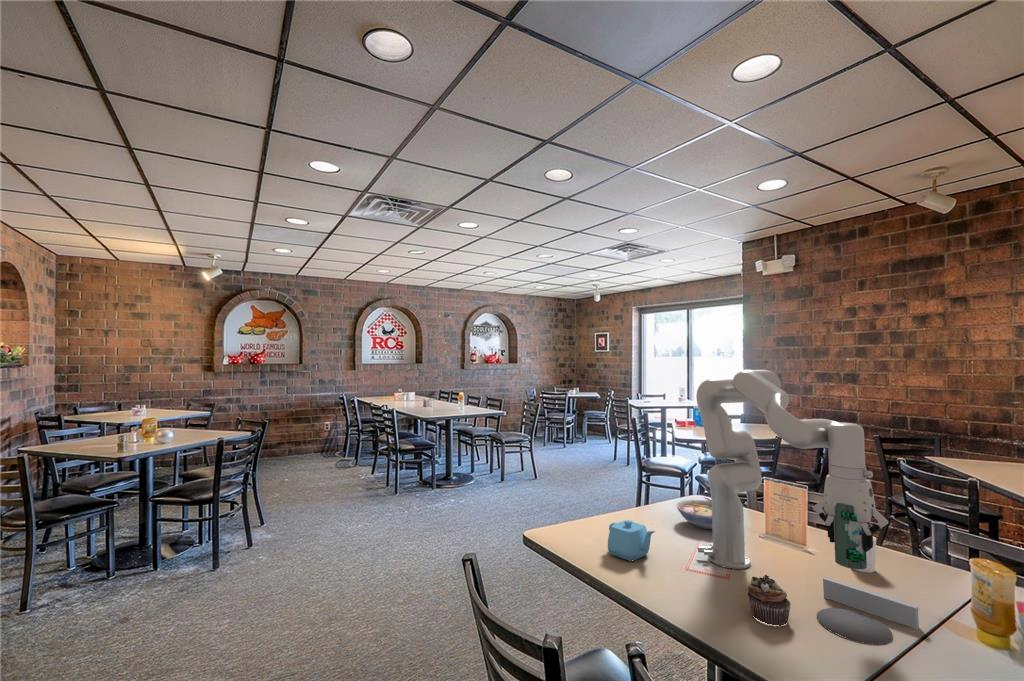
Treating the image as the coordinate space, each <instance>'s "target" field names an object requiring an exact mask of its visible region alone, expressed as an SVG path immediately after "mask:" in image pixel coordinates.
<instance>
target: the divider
mask: <svg viewBox="0 0 1024 681" xmlns="http://www.w3.org/2000/svg"><path fill="white" fill-rule="evenodd" d="M822 583H823V586H822V587H823V598H825V599H828V600H830V599H831V601H833V600H834V602H836V603H840V604H842V605H845V606H848V607H851V608H854V609H856V608H857V609H856V610H859V609H860V610H859V611H862V610H863V611H862V612H865V611H866V613H868V612H869V613H868V614H871V613H872V615H874V614H875V615H874V616H877V615H878V616H877V617H879V616H881V617H880V618H882V617H883V619H885V618H887V619H886V620H888V619H890V620H889V621H891V620H892V621H891V622H894V621H895V623H897V622H898V623H897V624H900V623H901V624H900V625H903V626H905V625H906V627H908V626H909V628H911V627H912V629H915V630H918V629H919V627H920V624H919V623H920V621H919V606H917V605H914V604H912V603H909V602H905V601H902V600H899V599H896V598H893V597H889V596H887V595H884V594H883V595H882V594H880V593H876V592H874V591H871V590H868V589H864V588H860V587H857V586H855V585H852V584H848V583H846V582H841V581H839V580H835V579H833V578H829V577H824V578H822Z"/></svg>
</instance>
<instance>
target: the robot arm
mask: <svg viewBox="0 0 1024 681" xmlns="http://www.w3.org/2000/svg"><path fill="white" fill-rule="evenodd" d="M781 386H782V384H781V379H780V378H779V376H778V374H776V373H775V372H773V371H772V370H768V369H744V370H741V371H739V372H737V373H736V374H735V375H734V376H733V377H714V378H708V379H705V380H704V381H703V382H701V383H700V384H699V386H698V388H697V390H696V403H697V408H698V410H699V413H700V416H701V419H702V426H703V431H704V435H705V441H706V448H707V451H708V453H709V456H711V457H712V458H713V459H716V460H728V459H729V460H730V459H733V460H734V462H726V463H725V462H724V463H718V464H715V465H713V466H711V468H710V469H709V470H708V471H707V482H708V486H709V491H710V497H711V499H710V501H711V500H712V529H711V530H712V531H711V532H712V542H710V543H709V544H710V545H707V546H701V545H698V546H697V552H698V553H703V554H704V556H707V558H709V559H708V561H710V562H711V561H712V562H713V563H712V562H711V563H712V564H714V563H715V564H714V565H716V564H717V565H716V566H719V565H720V566H719V567H722V566H724V567H723V568H726V567H727V568H726V569H731V568H732V569H733V570H735V569H736V570H737V569H738V570H744V569H747V568H749V567H750V566H751V560H750V558H749V557H748V556H746V554H745V552H746V551H745V524H744V523H745V522H744V521H745V519H744V514H745V513H744V505H743V504H742V501H741V499H740V497H739V495H738V493H745V492H752V491H756V490H758V489H759V488H760V486H761V485H762V481H763V480H762V471H761V465H760V462H759V455H758V451H757V446H756V442H755V440H754V439H753V437H752V435H751V434H750V433H748V431H746V430H744V429H738V428H737V429H732V425H731V421H730V420H731V419H730V417H729V415H728V413H727V411H726V410H725V408H724V407H723V406H722V405H721V404H738V403H739V404H740V403H747V402H749V403H750V404H751V405H753V406H754V407H756V409H758V410H760V411H761V412H762V413H763V414H764V416H765V420H766V423H767V425H768V427H769V428H770V430H771V432H773V433H774V434H775V435H777V437H779V438H780V439H781V440H783V441H784V442H785V443H787V444H789V445H790V446H792V447H794V448H797V449H801V450H803V449H804V450H805V449H806V450H807V449H817V448H818V449H819V448H820V449H821V448H828V450H827V451H828V452H827V453H828V474H827V475H826V476H825V481H824V487H823V488H824V489H823V499H822V500H821V501H819V502H817V503H816V504H814V505H813V506H812V509H813V510H814V512H816V514H818V516H819V518H820V519H821V520H822V521H823V522H824V524H825V525H826V526H827V530H826V531H827V538H829V543H830V544H831V543H832V544H833V543H834V516H835V506H836V504H837V503H839V504H843V505H849V506H854V515H857V521H858V522H861V526H862V528H863V530H864V534H863V550H864V551H866V552H867V551H869V550H870V549H871V548H873V537H874V536H873V534H874V533H876V532H878V531H879V530H881V529H882V528H883V527H885V526H886V525H888V524H889V520H888V519H887V518H886V517H885V516H884V515H883V514H881V513H880V512H879V511H878V510H877V509H876V502H875V494H874V491H873V485H872V483H871V480H869V479H868V478H873V476H874V473H873V471H870V470H868V469H867V467H866V451H865V450H866V449H865V432H864V428H863V426H861V425H860V424H858V423H852V422H839V421H836V420H833V419H827V418H810V419H809V418H806V419H799V418H797V417H795V416H794V415H792V413H790V412H789V411H788V410H786V409H787V407H788V405H789V403H790V397H789V394H788V393H787V392H786V391H785V390H783V389H782V388H781ZM874 520H877V523H875V524H874V525H872V523H871V521H874ZM732 569H731V570H732Z"/></svg>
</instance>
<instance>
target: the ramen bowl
mask: <svg viewBox="0 0 1024 681" xmlns="http://www.w3.org/2000/svg"><path fill="white" fill-rule="evenodd" d="M675 506H676V508H677V510H678V512H679V513H680V515H681V516H682V517H683V519H684V520H686V522H688V523H690V524H692V525H694V526H697V527H698V528H700V529H705V530H712V500H711V499H710V498H707V497H704V499H683V500H681V501H678V502H677V503H676V504H675Z"/></svg>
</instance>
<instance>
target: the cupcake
mask: <svg viewBox="0 0 1024 681" xmlns="http://www.w3.org/2000/svg"><path fill="white" fill-rule="evenodd" d="M747 591H748V592H747V597H748V602H749V605H750V610H751V613H752V614H753V615H752V614H751V615H752V617H753V616H754V617H755V618H757V619H758V620H760V621H762V622H765V623H767V624H772V625H779V626H781V625H784V624H786V623H787V622H789V617H790V611H791V604H792V603H791V601H790V600H789V599H788V598H787V597H788V593H787V591H785V590H784V589H783V588H782V587H781V586H780V585H779V584H778V582H776V581H775V579H773V578H770V576H769V575H767V574H765V575H763V576H762V577H760V576H759V577H757V576H752V577H751V580H750V583H749V585H748V586H747ZM754 617H753V618H754ZM787 624H788V623H787Z"/></svg>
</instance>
